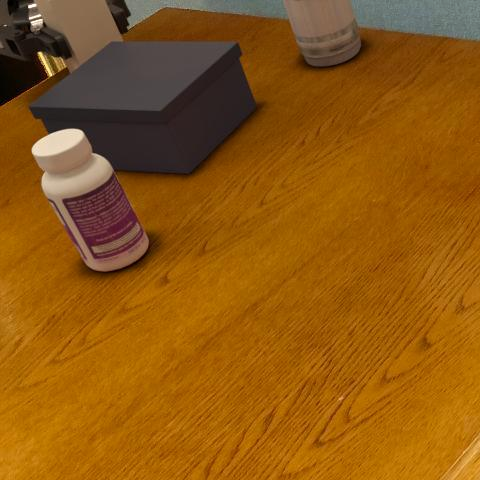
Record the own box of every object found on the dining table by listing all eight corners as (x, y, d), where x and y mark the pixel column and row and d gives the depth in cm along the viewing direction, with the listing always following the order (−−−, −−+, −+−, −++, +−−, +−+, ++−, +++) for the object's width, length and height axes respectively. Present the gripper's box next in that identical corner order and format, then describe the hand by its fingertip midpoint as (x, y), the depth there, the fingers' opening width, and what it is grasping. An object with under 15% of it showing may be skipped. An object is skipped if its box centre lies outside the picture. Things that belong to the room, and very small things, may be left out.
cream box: (79, 92, 104) (28, -10, 96) (122, 72, 106) (75, -30, 98) (99, 104, 101) (48, 0, 94) (142, 83, 103) (96, -21, 95)
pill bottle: (163, 236, 82) (107, 122, 74) (130, 274, 78) (68, 160, 71) (108, 234, 83) (48, 123, 76) (73, 272, 80) (7, 160, 73)
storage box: (61, 169, 93) (27, 106, 88) (139, 102, 100) (111, 41, 95) (190, 176, 88) (160, 110, 83) (261, 105, 95) (238, 41, 90)
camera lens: (366, 35, 102) (343, -48, 96) (360, 62, 98) (336, -23, 92) (307, 45, 103) (280, -37, 97) (298, 72, 99) (270, -12, 93)
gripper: (-56, -10, 102) (4, 24, 92) (71, -62, 107) (140, -34, 97) (-14, 64, 107) (46, 104, 98) (105, 12, 112) (173, 44, 103)
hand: (93, 35), depth 97 cm, fingers open, 5 cm apart
